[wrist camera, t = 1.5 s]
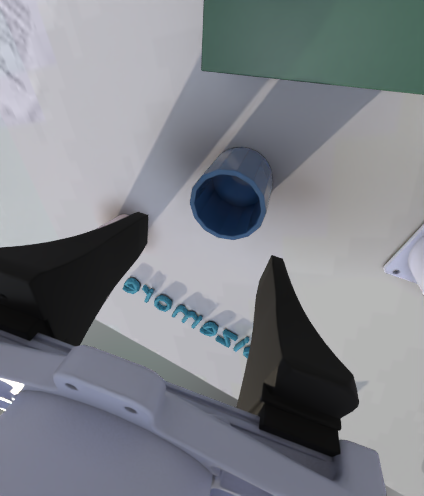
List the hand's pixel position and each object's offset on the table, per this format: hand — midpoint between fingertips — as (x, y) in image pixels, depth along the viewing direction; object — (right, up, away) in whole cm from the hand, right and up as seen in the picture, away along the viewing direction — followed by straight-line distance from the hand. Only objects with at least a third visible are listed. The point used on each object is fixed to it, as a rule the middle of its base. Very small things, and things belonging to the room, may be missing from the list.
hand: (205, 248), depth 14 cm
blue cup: (+3, +6, +8) cm, 11 cm away
